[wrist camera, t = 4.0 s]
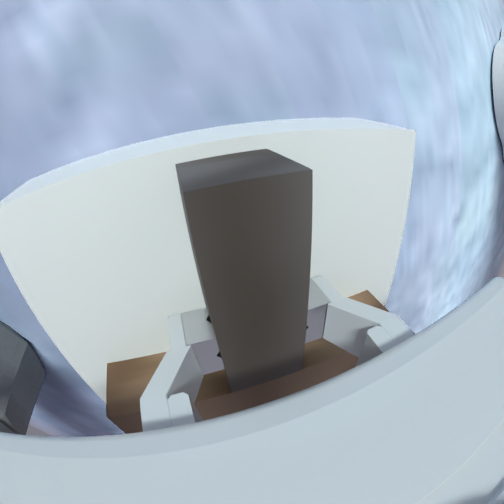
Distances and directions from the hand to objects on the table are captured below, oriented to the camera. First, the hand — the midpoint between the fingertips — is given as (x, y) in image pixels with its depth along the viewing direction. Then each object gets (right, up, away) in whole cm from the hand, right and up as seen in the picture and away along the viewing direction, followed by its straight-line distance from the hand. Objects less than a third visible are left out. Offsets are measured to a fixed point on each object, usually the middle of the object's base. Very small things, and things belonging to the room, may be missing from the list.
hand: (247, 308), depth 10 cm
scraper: (0, +1, +1) cm, 1 cm away
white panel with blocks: (-1, -1, +7) cm, 7 cm away
